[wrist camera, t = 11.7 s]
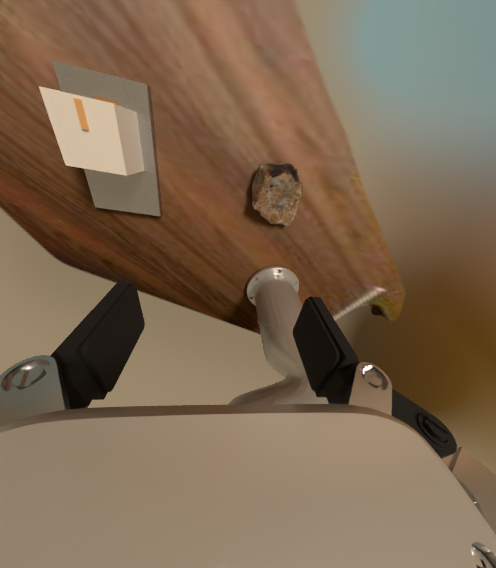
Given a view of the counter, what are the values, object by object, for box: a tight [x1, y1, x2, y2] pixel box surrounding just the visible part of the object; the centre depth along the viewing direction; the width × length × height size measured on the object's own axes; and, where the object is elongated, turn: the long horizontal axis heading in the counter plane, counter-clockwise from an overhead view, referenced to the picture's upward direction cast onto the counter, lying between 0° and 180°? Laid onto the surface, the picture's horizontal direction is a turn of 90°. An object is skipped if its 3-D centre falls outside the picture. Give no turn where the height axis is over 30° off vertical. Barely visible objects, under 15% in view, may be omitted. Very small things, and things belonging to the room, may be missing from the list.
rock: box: [252, 163, 302, 226], centre depth 31 cm, size 9×6×10 cm
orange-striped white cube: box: [39, 86, 144, 176], centre depth 23 cm, size 7×7×6 cm
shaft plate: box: [52, 60, 162, 216], centre depth 26 cm, size 16×10×4 cm, turn 170°
